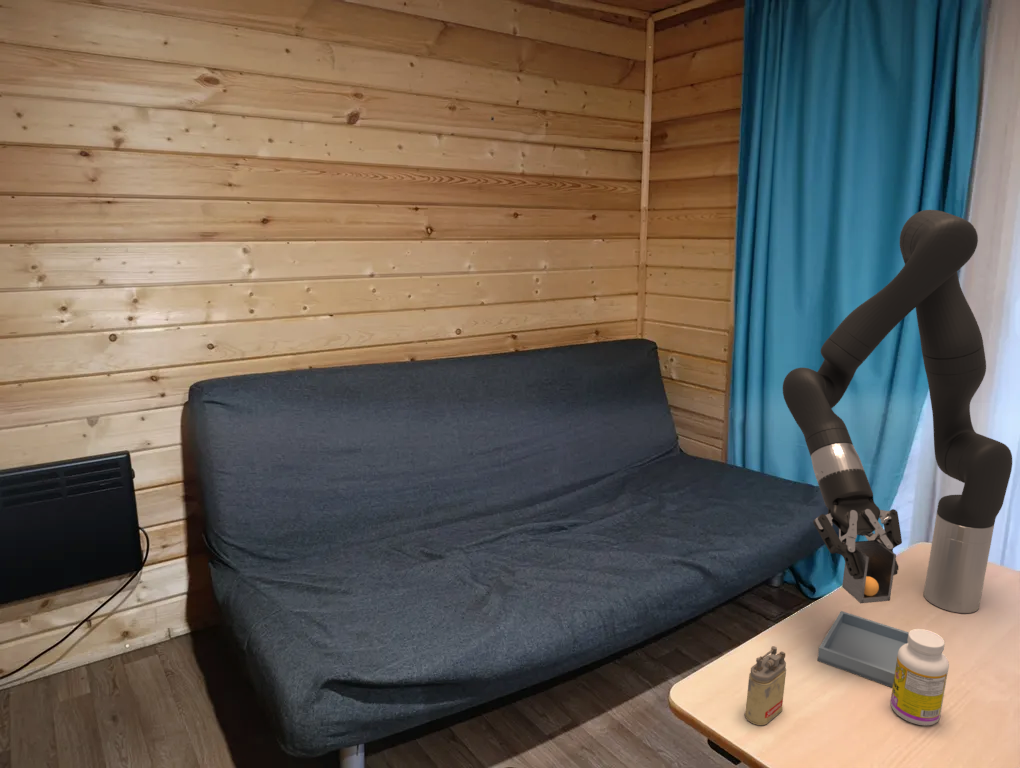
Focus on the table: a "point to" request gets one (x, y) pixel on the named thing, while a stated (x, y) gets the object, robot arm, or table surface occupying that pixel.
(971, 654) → the table surface
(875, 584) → the ball
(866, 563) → the open box
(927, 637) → the supplement bottle
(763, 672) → the lighter
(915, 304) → the robot arm
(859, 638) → the tray
